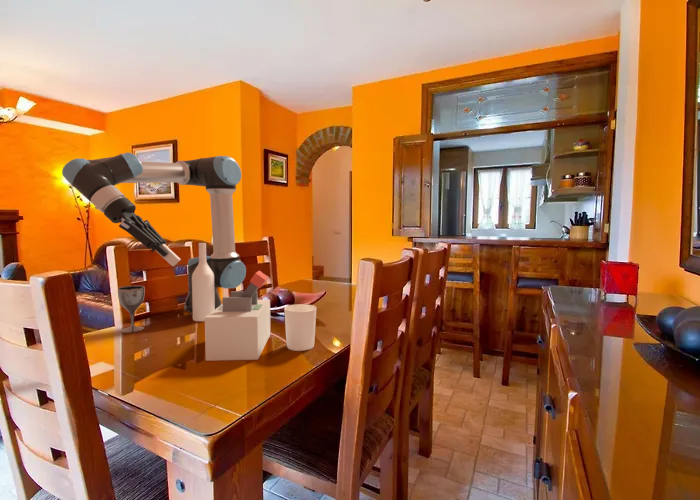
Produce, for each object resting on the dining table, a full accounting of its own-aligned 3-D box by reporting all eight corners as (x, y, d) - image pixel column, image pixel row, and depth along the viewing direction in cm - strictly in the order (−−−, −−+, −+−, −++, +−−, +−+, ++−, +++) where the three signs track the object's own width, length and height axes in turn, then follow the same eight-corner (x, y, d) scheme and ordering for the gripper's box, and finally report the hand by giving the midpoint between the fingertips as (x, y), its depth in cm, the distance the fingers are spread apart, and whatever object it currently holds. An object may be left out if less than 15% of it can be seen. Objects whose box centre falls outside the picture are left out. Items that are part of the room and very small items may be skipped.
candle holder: (310, 353, 99) (310, 312, 99) (279, 350, 101) (278, 310, 100) (320, 342, 109) (320, 305, 108) (291, 339, 111) (291, 303, 110)
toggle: (238, 298, 107) (259, 270, 107) (248, 305, 107) (268, 277, 107) (233, 303, 101) (255, 273, 101) (243, 310, 101) (265, 280, 101)
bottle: (194, 316, 138) (192, 242, 135) (215, 315, 140) (214, 242, 138) (191, 322, 130) (189, 243, 128) (214, 320, 132) (212, 243, 130)
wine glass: (114, 330, 119) (112, 288, 118) (137, 325, 126) (136, 284, 125) (127, 334, 115) (125, 290, 114) (150, 328, 122) (149, 286, 121)
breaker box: (228, 335, 115) (227, 288, 114) (270, 334, 116) (269, 287, 115) (205, 360, 93) (204, 302, 92) (257, 359, 94) (257, 302, 93)
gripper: (118, 215, 105) (176, 268, 108) (90, 213, 92) (157, 274, 95) (136, 198, 105) (193, 252, 108) (110, 194, 92) (176, 255, 95)
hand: (176, 262), depth 102 cm, fingers closed
